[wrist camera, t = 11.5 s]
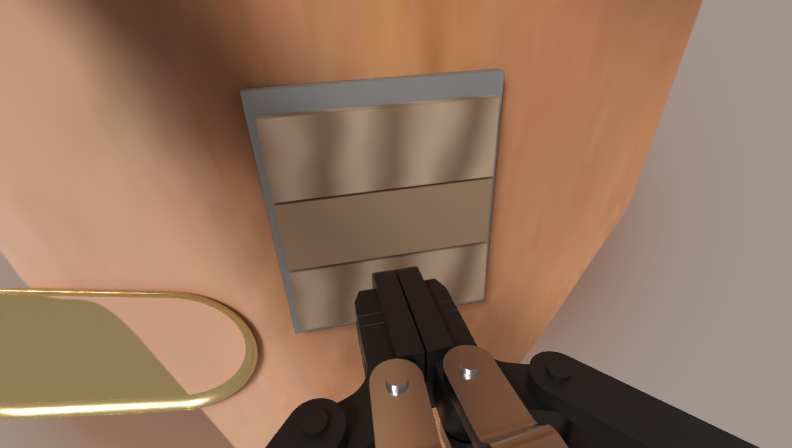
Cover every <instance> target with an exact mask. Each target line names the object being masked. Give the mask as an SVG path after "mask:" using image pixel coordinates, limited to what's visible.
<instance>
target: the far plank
mask: <svg viewBox="0 0 792 448" xmlns="http://www.w3.org/2000/svg"><path fill="white" fill-rule="evenodd" d="M486 258H487V243H486V242H480V243H473V244H466V245H460V246H453V247H446V248H440V249H433V250H426V251H420V252H413V253H406V254H400V255H393V256H386V257H380V258H373V259H366V260H360V261H353V262H346V263H340V264H333V265H326V266H320V267H313V268H306V269H300V270H293V271H289V277H290V281H291V286H292V291H293V296H294V300H295V305H296V310H297V314H298V319H299V324H300V329H301V331H303V330H308V329H314V328H320V327H326V326H331V325H337V324H343V323H349V322H354V321H356V313H355V300H356V298H357V295H358V292H359V291H362V290H368V289H373V287H372V273H375V272H382V271H388V270H394V271H395V269H400V268H406V267H413V266H417V267H418V268H419V271H420V273H421V275H422V277H423V279H424V280H429V279H436V280H437V281H439V282H440V283H441V284H442V285H444V286H445V287H446V288H447V290H448V292H449V294H450V296H451V298H452V301H453V302H454V303H455V304H457V303H463V302H469V301H475V300H480V299H484V288H485V273H486Z"/></svg>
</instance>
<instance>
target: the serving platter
mask: <svg viewBox="0 0 792 448" xmlns="http://www.w3.org/2000/svg"><path fill="white" fill-rule="evenodd" d="M49 296H90V297H151V298H181V299H188V300H193V301H197V302H201V303H204V304H206V305H209V306H211V307H214V308H216V309H217V310H219V311H221V312H222V313H224V314H225V315H227V316H228V317H229V318H231V319H232V320H233V321H234V322H235V323H236V325H237V326H238V327H239V329H240V330H241V332H242V334H243V336H244V339H245V343H246V355H245V359H244V362H243V364H242V366H241V367H240V369H239V370H238V371H237V373H236V374H235V375H234V376H233V377H232V378H230V379H229V380H228V381H227V382H225V383H223V384H222V385H220V386H218V387H216V388H214V389H211V390H208V391H205V392H202V393H198V394H193V395H189V394H188V393H187V392H186V391H185V390H184V388H183V387H182V386H181V385H180V384H179V383H178V382H177V380H176V379H175V378H174V377H173V376H172V375H171V374H170V372H169V371H168V370H167V369H166V368H165V367H164V366H163V365H162V363H161V362H160V361H159V360H158V359H157V358H156V356H155V355H154V354H153V353H152V352H151V351H150V350H149V348H148V347H147V346H146V345H145V344H144V343H143V342H142V340H141V339H140V338H139V337H138V336H137V335H136V334H135V333H134V332H133V331H132V330H131V329H130V328H129V327H128V326H127V325H126V324H125V323H124V322H123V321H122V320H121V319H120V318H118V317H117V316H116V315H115V314H114V313H112V312H111V311H110V310H108V309H107V308H105V307H103V306H102V305H99V304H97V303H95V302H91V301H87V300H76V299H59V298H53V297H49ZM257 358H258V348H257V343H256V340H255V337H254V335H253V333H252V331H251V330H250V328H249V327H248V325H247V324H246V323H245V322H244V321H243V320H242V319H241V318H240V317H239V316H238V315H237V314H236V313H234V312H233V311H232V310H230V309H229V308H227V307H225V306H224V305H222V304H220V303H218V302H216V301H213V300H211V299H208V298H205V297H202V296H198V295H194V294H189V293H183V292H171V291H125V290H77V289H28V288H27V289H26V288H0V419H34V418H52V417H73V416H92V415H110V414H129V413H148V412H167V411H183V410H191V409H197V408H202V407H205V406H209V405H212V404H215V403H217V402H219V401H222V400H224V399H226V398H228V397H229V396H231V395H232V394H234V393H235V392H237V391H238V390H239V389H240V388H241V387H242V386H244V385H245V383H246V382H247V381H248V380H249V378H250V377H251V375H252V374H253V372H254V369H255V367H256V364H257Z"/></svg>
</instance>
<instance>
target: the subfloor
mask: <svg viewBox="0 0 792 448" xmlns="http://www.w3.org/2000/svg"><path fill="white" fill-rule="evenodd" d="M503 82H504V71H503V70H500V69H490V70H477V71H464V72H451V73H438V74H425V75H412V76H399V77H386V78H373V79H360V80H346V81H333V82H320V83H307V84H294V85H281V86H268V87H255V88H242V89H241V90H240V96H241V100H242V104H243V109H244V113H245V117H246V122H247V126H248V130H249V135H250V139H251V143H252V148H253V152H254V156H255V161H256V165H257V169H258V174H259V178H260V182H261V187H262V191H263V195H264V199H265V204H266V208H267V212H268V217H269V221H270V225H271V230H272V234H273V238H274V243H275V247H276V251H277V256H278V260H279V264H280V269H281V273H282V277H283V282H284V286H285V290H286V295H287V299H288V303H289V308H290V312H291V316H292V321H293V325H294V329H295V334H297V333H302V332H308V331H314V330H320V329H325V328H331V327H337V326H342V325H348V324H354V323H357V322H356V321H354V322H349V323H343V324H337V325H331V326H326V327H320V328H314V329H308V330H303V331H301V329H300V324H299V319H298V314H297V310H296V305H295V300H294V296H293V291H292V286H291V281H290V277H289V271H293V270H300V269H306V268H313V267H320V266H326V265H333V264H340V263H346V262H353V261H360V260H366V259H373V258H380V257H386V256H393V255H400V254H406V253H413V252H420V251H426V250H433V249H440V248H446V247H453V246H460V245H466V244H473V243H480V242H486V243H487V258H486V272H487V261H488V250H489V239H490V227H491V216H492V205H493V194H494V183H495V171H496V160H497V149H498V138H499V127H500V116H501V104H502V93H503ZM486 95H494V96H496V97H499V98H500V103H499V115H498V127H497V138H496V150H495V162H494V174H493V176H492V177H483V178H475V179H467V180H459V181H451V182H443V183H435V184H426V185H418V186H410V187H402V188H394V189H386V190H377V191H369V192H361V193H353V194H345V195H337V196H329V197H320V198H312V199H304V200H296V201H288V202H280V203H273V199H272V195H271V190H270V186H269V181H268V177H267V172H266V167H265V163H264V158H263V154H262V149H261V145H260V140H259V135H258V131H257V126H256V122H255V119H256V117H257V116H258V115H270V114H281V113H292V112H304V111H315V110H327V109H338V108H349V107H361V106H372V105H384V104H395V103H406V102H418V101H429V100H441V99H452V98H463V97H475V96H486ZM485 283H486V273H485ZM484 295H485V288H484ZM479 301H484V299H480V300H475V301H469V302H463V303H457V304H455V305H456V306H457V305H462V304H468V303H474V302H479Z"/></svg>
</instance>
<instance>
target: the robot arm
mask: <svg viewBox="0 0 792 448" xmlns="http://www.w3.org/2000/svg"><path fill="white" fill-rule="evenodd" d="M372 287H373V289H368V290H362V291H359V292H358V295H357V298H356V300H355V313H356V322H357V331H358V339H359V345H360V350H361V355H362V361H363V366H364V372H365V377H366V378H365V381H364V383H363V384H362V386H361V387H360V388H359V389H358V390H357V391H356V392H355V393H354V394H352V395H351V396H349V397H348V398H346V399H344V400H342V401H340V402H339V403H336V402H334V401H333V400H330V399H325V398H318V399H312V400H309V401H307V402H305V403H303V404H301V405H300V406H298V407H297V408H296V409H295V410H294V411H293V412H292V413H291V415H290V416H289V417H288V419H287V420H286V421H285V423H284V424H283V425H282V426H281V428H280V429H279V430H278V432H277V433H276V434H275V436H274V437H273V438H272V440H271V441H270V442H269V444H268V445H267V446H266V448H442V447H441V444H440V440H439V436H438V432H437V428H436V424H435V420H434V416H433V412H432V408H434V407H436V408H437V411H438V414H439V417H440V433H441V436H442V439H443V441H444V444H445V446H446V448H759V447H757V446H755V445H753V444H751V443H748V442H746V441H744V440H742V439H740V438H738V437H736V436H734V435H732V434H729V433H728V432H726V431H723V430H721V429H719V428H717V427H715V426H713V425H711V424H708V423H706V422H705V421H702V420H700V419H698V418H696V417H694V416H692V415H690V414H688V413H686V412H684V411H682V410H680V409H678V408H675V407H673V406H671V405H669V404H667V403H665V402H663V401H661V400H658V399H657V398H654V397H652V396H650V395H648V394H646V393H644V392H642V391H640V390H638V389H636V388H634V387H632V386H629V385H627V384H625V383H623V382H621V381H619V380H617V379H615V378H613V377H611V376H608V375H607V374H604V373H602V372H600V371H598V370H596V369H594V368H592V367H590V366H588V365H586V364H583V363H581V362H579V361H577V360H575V359H573V358H571V357H569V356H567V355H564V354H562V353H558V352H552V351H547V352H541V353H539V354H537V355H535V356H534V357H533V358H532V359H531V361H530V365H529V364H517V363H506V362H501V361H498V360H495V359H493V357H492V356H491V355H490V354H489V353H488V352H486V351H485V350H483V349H482V348H479V347H478V346H477V345H476V343H475V341H474V339H473V337H472V336H471V334H470V332H469V330H468V328H467V326H466V324H465V322H464V320H463V319H462V317H461V315H460V313H459V311H458V310H457V307H456V305H455V303H454V302H453V301H452V298H451V296H450V294H449V292H448V290H447V288H446V287H445V286H444V285H442V284H441V283H440V282H439V281H437V280H436V279H429V280H424V279H423V277H422V275H421V273H420V271H419V268H418V267H417V266H413V267H406V268H400V269H395V271H394V270H388V271H382V272H375V273H372Z"/></svg>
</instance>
